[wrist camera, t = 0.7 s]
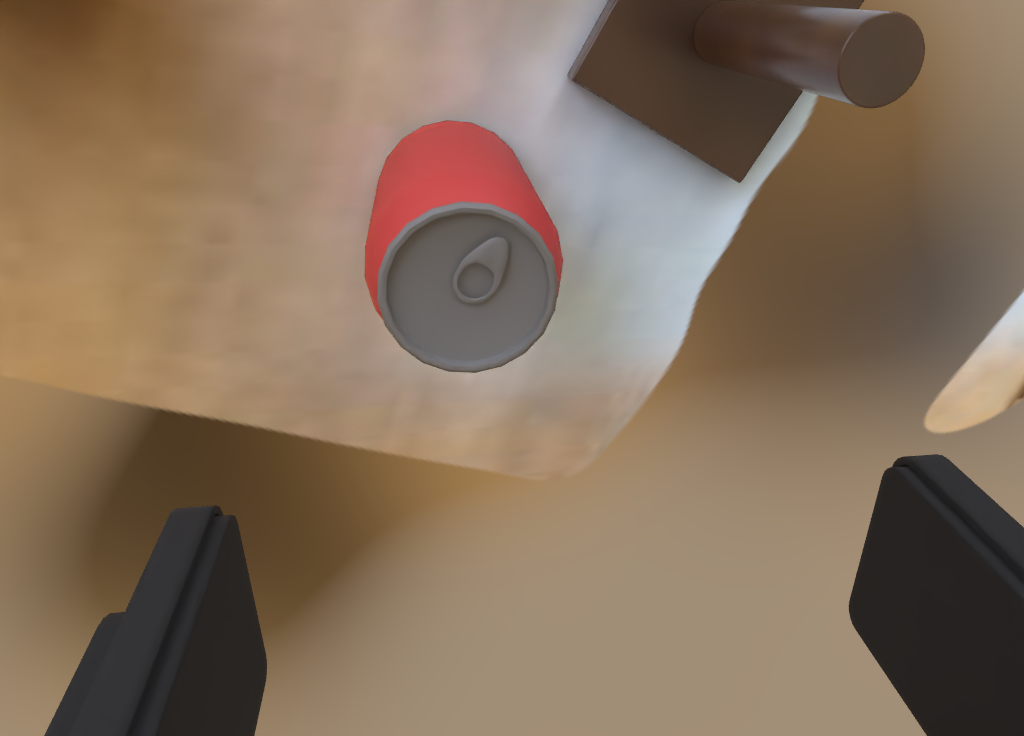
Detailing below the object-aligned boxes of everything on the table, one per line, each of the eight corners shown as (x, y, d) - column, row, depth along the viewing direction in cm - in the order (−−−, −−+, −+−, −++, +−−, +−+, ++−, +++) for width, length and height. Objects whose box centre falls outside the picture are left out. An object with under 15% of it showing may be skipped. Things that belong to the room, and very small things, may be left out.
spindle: (688, -144, 29) (872, -229, 17) (858, -13, 32) (1116, -9, 20) (566, 75, 32) (651, 130, 20) (731, 177, 35) (889, 277, 23)
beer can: (554, 170, 34) (617, 258, 23) (476, 290, 36) (500, 420, 25) (426, 86, 32) (430, 140, 21) (350, 219, 34) (320, 328, 23)
